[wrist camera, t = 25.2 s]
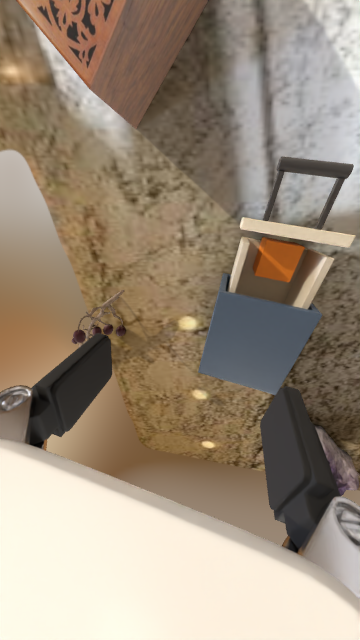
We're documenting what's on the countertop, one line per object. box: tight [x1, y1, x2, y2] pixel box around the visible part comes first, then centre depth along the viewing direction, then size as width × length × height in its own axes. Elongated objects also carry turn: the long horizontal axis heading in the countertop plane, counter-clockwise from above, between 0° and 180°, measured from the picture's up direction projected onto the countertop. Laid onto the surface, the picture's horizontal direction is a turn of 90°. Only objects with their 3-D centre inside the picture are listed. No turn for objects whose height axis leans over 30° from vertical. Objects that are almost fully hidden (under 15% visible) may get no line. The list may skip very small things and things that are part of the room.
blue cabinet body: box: [198, 273, 322, 395], centre depth 32 cm, size 15×13×10 cm
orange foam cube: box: [253, 237, 305, 283], centre depth 27 cm, size 4×4×4 cm
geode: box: [314, 425, 359, 496], centre depth 42 cm, size 20×12×10 cm, turn 48°
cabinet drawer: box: [227, 157, 355, 309], centre depth 26 cm, size 20×11×8 cm, turn 172°
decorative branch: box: [72, 290, 126, 347], centre depth 44 cm, size 11×9×30 cm
